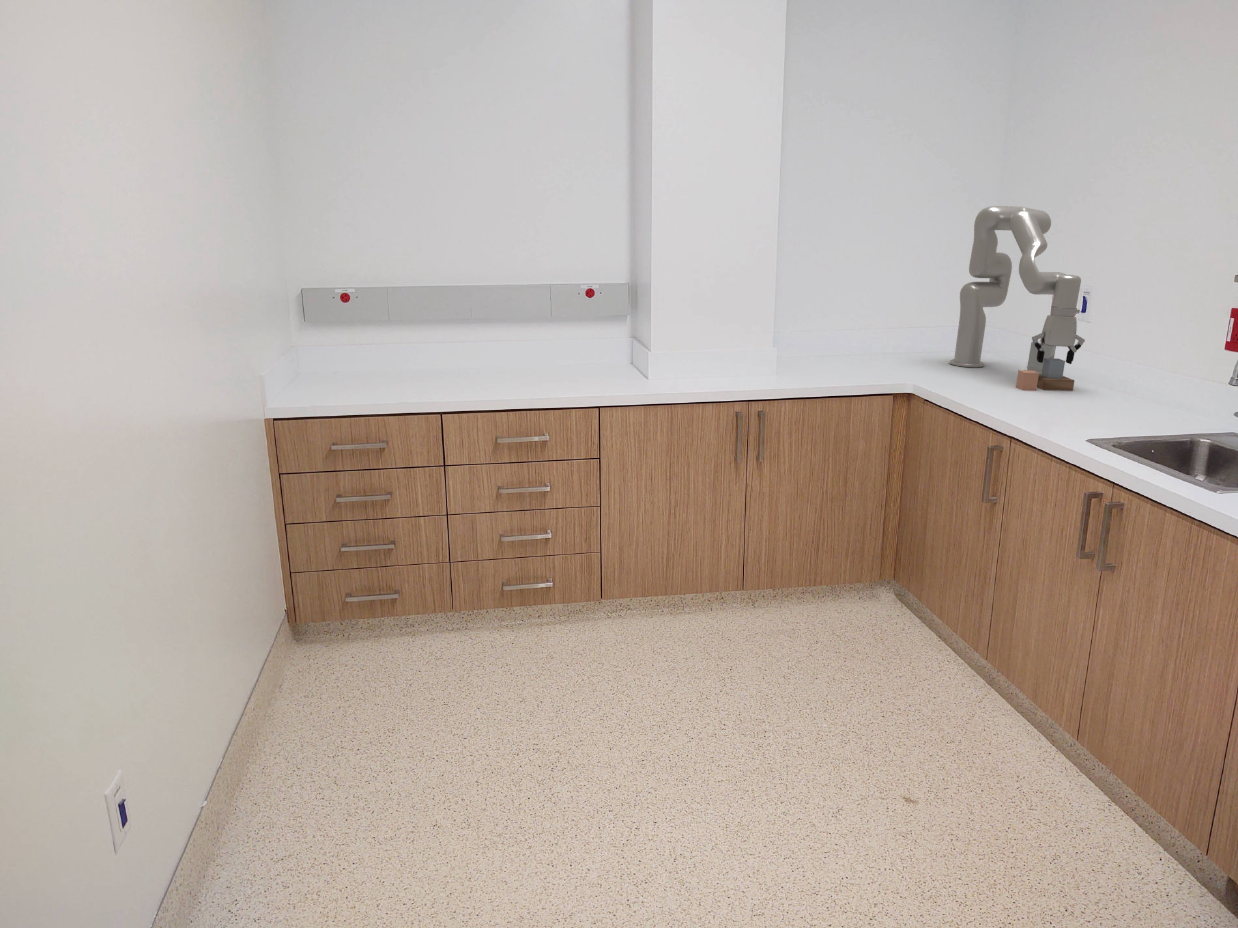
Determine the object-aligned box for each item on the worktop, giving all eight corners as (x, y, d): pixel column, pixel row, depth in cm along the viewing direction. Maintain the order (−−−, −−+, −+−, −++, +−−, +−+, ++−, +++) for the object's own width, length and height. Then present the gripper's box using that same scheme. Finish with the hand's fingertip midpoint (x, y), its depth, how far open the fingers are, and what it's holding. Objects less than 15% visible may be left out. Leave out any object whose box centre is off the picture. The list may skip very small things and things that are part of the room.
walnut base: (1029, 385, 320) (1031, 374, 319) (1057, 385, 320) (1059, 374, 319) (1043, 391, 310) (1045, 379, 309) (1072, 391, 311) (1074, 380, 310)
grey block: (1041, 375, 317) (1043, 358, 315) (1055, 375, 317) (1058, 358, 315) (1047, 378, 312) (1050, 360, 310) (1062, 378, 312) (1065, 361, 310)
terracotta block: (1015, 387, 314) (1018, 369, 313) (1030, 387, 314) (1033, 370, 312) (1021, 390, 309) (1023, 372, 308) (1036, 390, 309) (1039, 373, 308)
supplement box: (1046, 379, 330) (1052, 344, 327) (1025, 376, 335) (1030, 341, 331) (1051, 376, 336) (1057, 342, 332) (1030, 373, 340) (1035, 339, 337)
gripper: (1084, 312, 311) (1075, 361, 317) (1032, 310, 312) (1024, 359, 317) (1094, 315, 304) (1084, 365, 309) (1041, 313, 305) (1032, 363, 310)
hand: (1054, 362), depth 313 cm, fingers open, 9 cm apart
